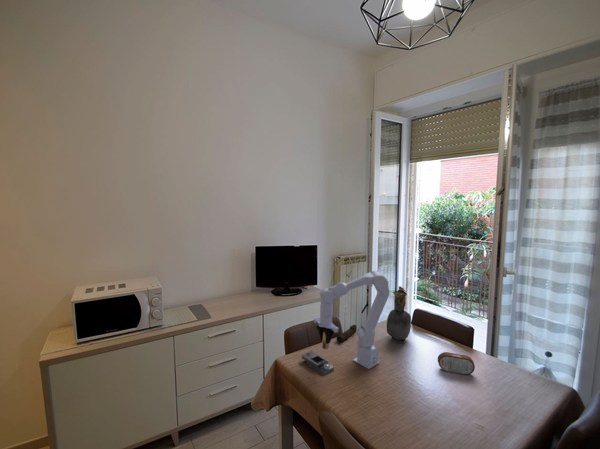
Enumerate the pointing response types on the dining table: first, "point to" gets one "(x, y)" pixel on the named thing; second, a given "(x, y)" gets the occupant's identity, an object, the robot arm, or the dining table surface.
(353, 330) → the hand tool
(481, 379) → the dining table surface
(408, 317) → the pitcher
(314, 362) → the grey plate with knobs
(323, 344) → the copper pin
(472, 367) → the tin
